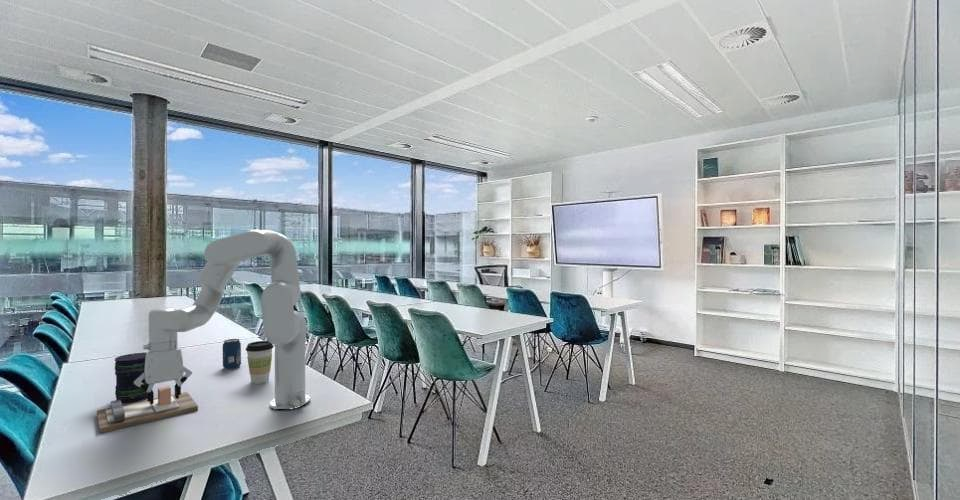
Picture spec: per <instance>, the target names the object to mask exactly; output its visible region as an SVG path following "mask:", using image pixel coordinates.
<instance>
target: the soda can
mask: <svg viewBox="0 0 960 500" xmlns="http://www.w3.org/2000/svg"><path fill="white" fill-rule="evenodd" d="M241 343H242V342H241V341H240V338H228V339H225V340H224V341H223V344H222V367H223V369H225V370H234V369H235V370H236V369H239V368H240V366H241V364H242V344H241Z"/></svg>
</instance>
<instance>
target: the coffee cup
mask: <svg viewBox="0 0 960 500" xmlns="http://www.w3.org/2000/svg"><path fill="white" fill-rule="evenodd" d="M273 349H274V344H272V343H270V342H269V341H268V340H261V341H260V340H259V341H253V342H250V343H248V344H247V346H246V348H245V351H246V354H247V356H246V357H247V363H248V370H249V376H250V383H251V384H253V383H260V384H263V383H262V382H265V383H267V382H269V381H268V380H270V373H271V368H272V359H273ZM266 381H267V382H266Z"/></svg>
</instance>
